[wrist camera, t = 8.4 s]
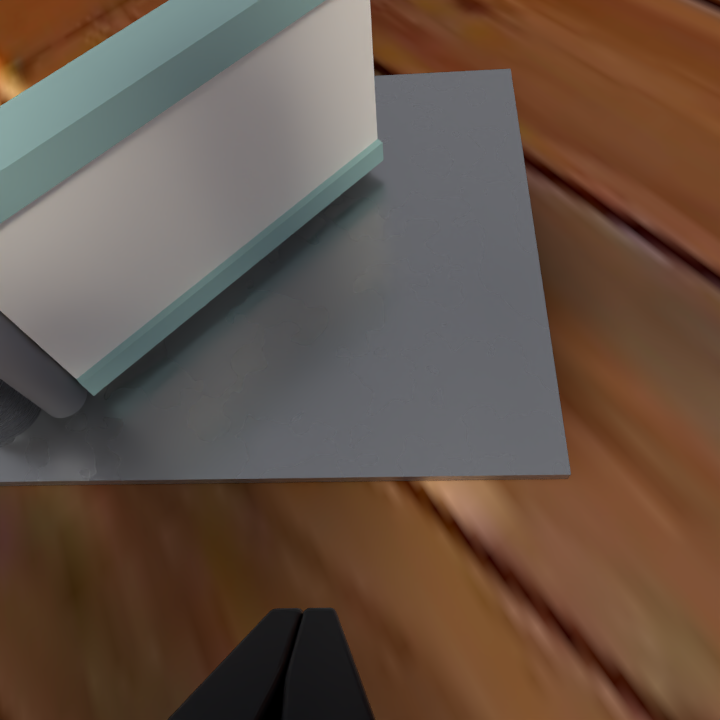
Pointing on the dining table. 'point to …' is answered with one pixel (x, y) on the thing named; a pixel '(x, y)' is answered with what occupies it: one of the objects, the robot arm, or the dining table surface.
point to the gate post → (349, 333)
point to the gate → (169, 176)
